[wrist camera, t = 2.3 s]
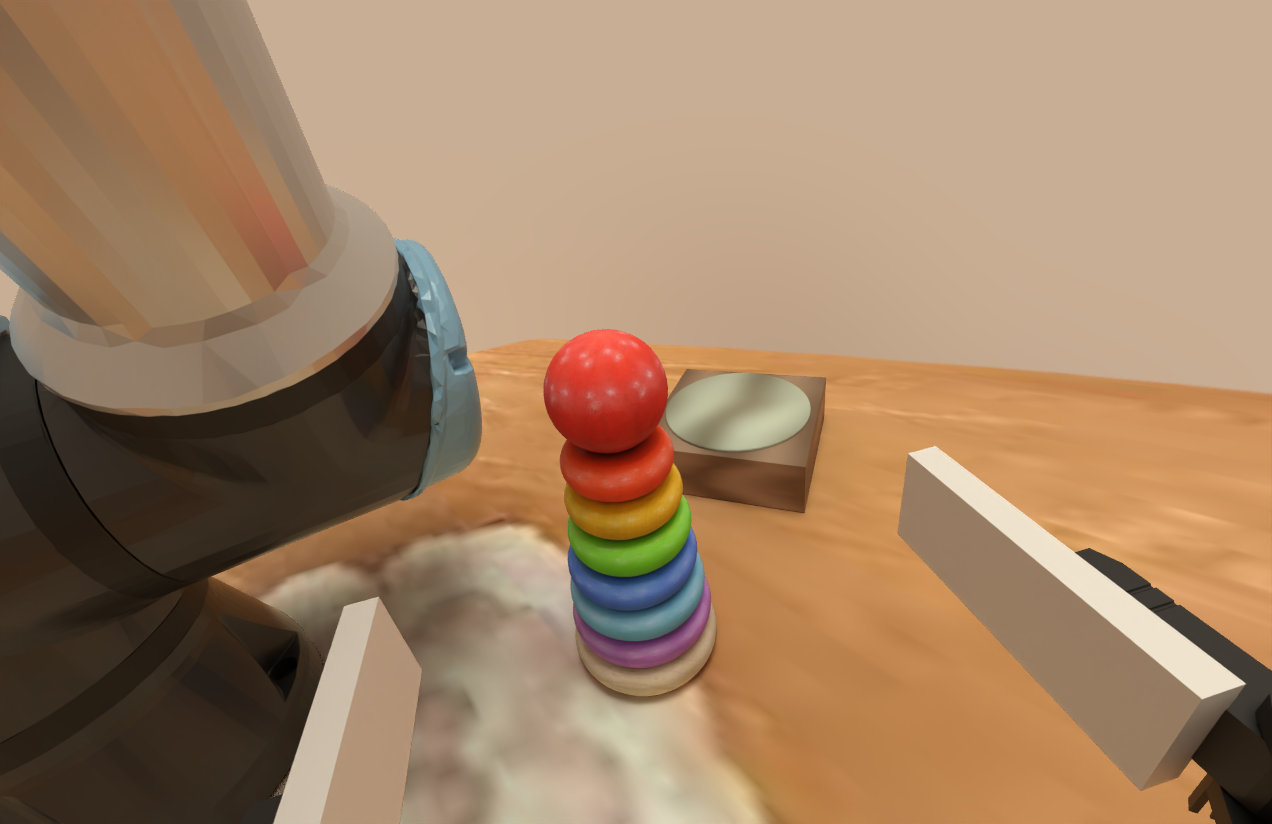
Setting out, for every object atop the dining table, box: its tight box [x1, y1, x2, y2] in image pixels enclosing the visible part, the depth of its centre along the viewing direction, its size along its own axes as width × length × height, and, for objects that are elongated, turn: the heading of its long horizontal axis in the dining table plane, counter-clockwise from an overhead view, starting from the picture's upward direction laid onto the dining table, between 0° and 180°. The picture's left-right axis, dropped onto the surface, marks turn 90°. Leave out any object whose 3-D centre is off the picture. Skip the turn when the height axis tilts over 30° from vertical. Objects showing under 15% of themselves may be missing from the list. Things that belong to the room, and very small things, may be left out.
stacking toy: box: [544, 329, 717, 696], centre depth 26 cm, size 8×8×19 cm
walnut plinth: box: [658, 369, 826, 513], centre depth 43 cm, size 12×12×4 cm
